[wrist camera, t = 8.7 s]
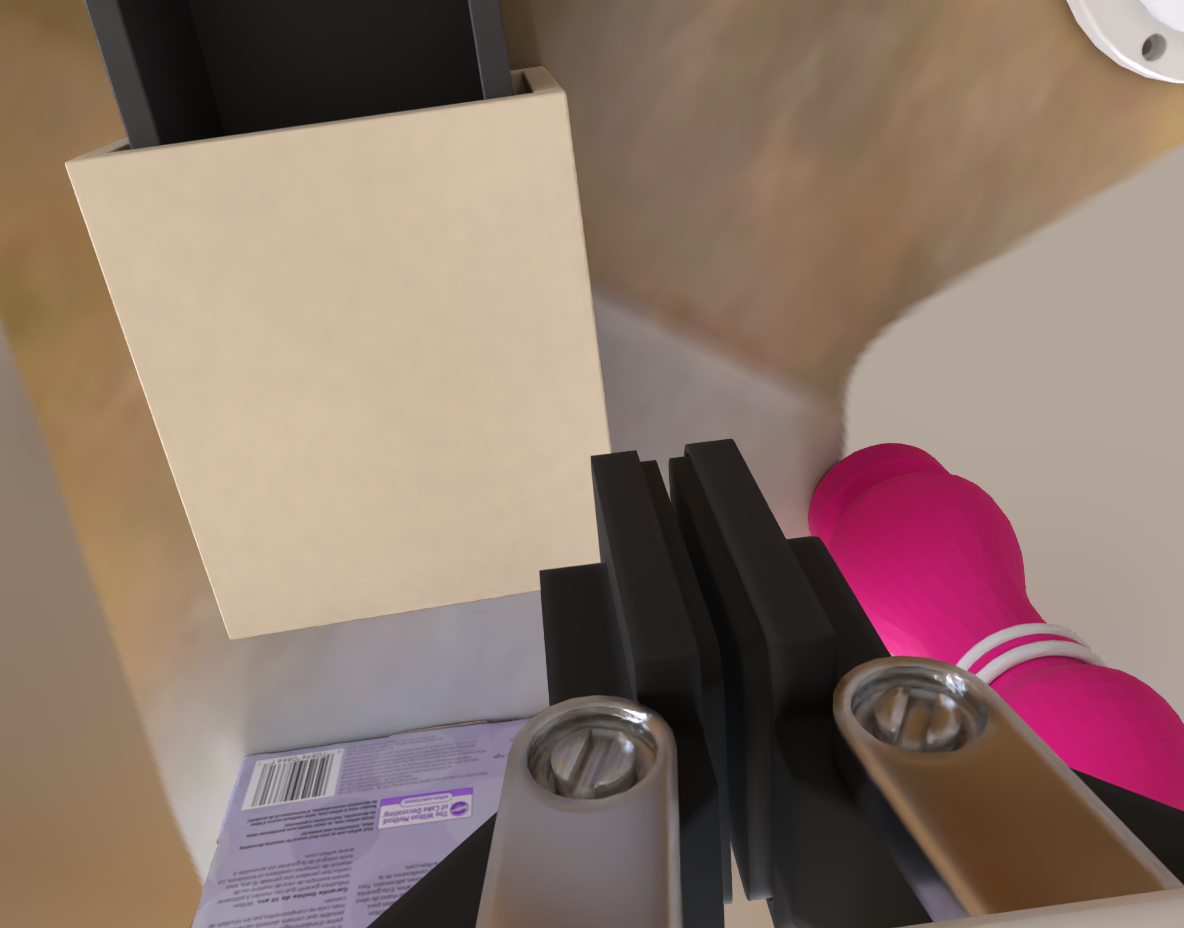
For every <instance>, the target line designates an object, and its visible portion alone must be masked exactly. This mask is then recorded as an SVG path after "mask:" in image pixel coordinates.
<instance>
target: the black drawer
mask: <svg viewBox="0 0 1184 928" xmlns="http://www.w3.org/2000/svg"><path fill="white" fill-rule="evenodd" d="M84 2H85V5H86V8H87V12H88V15H89V18H90V21H91V24H92V27H93V30H94V34H95V37H96V40H97V43H98V46H99V49H100V53H101V56H102V59H103V62H104V65H105V68H106V72H107V75H108V78H109V81H110V84H111V87H112V91H113V94H114V97H115V100H116V103H117V106H118V109H119V113H120V116H121V119H122V122H123V125H124V128H125V132H126V135H127V138H128V141H129V144H130V147H131V150H132V149H139V148H147V147H154V146H161V145H168V144H175V143H182V142H189V141H196V140H203V139H210V138H217V137H224V136H232V135H239V134H246V133H253V132H260V131H267V130H274V129H281V128H288V127H295V126H302V125H309V124H317V123H324V122H331V121H338V120H345V119H352V118H359V117H366V116H373V115H380V114H387V113H394V112H401V111H409V110H416V109H423V108H430V107H437V106H444V105H451V104H458V103H465V102H472V101H479V100H486V99H494V98H501V97H508V96H514V92H513V85H512V79H511V72H510V65H509V58H508V52H507V45H506V38H505V32H504V25H503V18H502V11H501V5H500V0H84Z"/></svg>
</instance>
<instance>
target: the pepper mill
mask: <svg viewBox="0 0 1184 928" xmlns="http://www.w3.org/2000/svg"><path fill="white" fill-rule="evenodd" d="M808 522H809V530H810V534H811V536H817V537H819V538H820V539H821V540H822V541H823V542H824V544H825V546H826V547H827V549H828V551H829V552H830V554H831V556H832V557H833V559H834V561H835V562H836V564H837V566H838V567H839V569H840V571H841V572H842V574H843V576H844V577H845V579H846V581H847V582H848V584H849V586H850V588H851V589H852V591H853V593H854V594H855V596H856V598H857V599H858V601H859V603H860V604H861V606H862V608H863V609H864V611H865V613H866V614H867V616H868V618H869V619H870V621H871V623H872V624H873V626H874V628H875V630H876V631H877V633H878V635H879V636H880V638H881V640H882V641H883V643H884V645H885V646H886V648H887V650H888V651H889V653H891V654H894V655H895V656H915V657H927V658H931V659H935V660H939V661H943V662H947V663H951V664H953V665H956V666H958V667H960V668H962V669H964V670H966V671H968V672H970V673H973V674H975V675H976V676H977V677H978V678H980V679H981V680H982V681H983V682H985V683H986V684H987V685H989V686H990V687H991V688H992V689H993V690H994V691H995V692H996V693H997V694H998V695H999V696H1000V697H1001V698H1002V699H1003V700H1004V701H1005V702H1006V703H1007V704H1008V705H1009V706H1010V707H1011V708H1012V709H1013V710H1014V711H1015V712H1016V713H1017V714H1018V715H1019V716H1020V717H1021V718H1022V719H1023V720H1024V721H1025V722H1026V724H1027V725H1028V726H1029V727H1030V728H1031V729H1032V730H1033V731H1034V732H1035V733H1036V734H1037V735H1038V736H1039V737H1040V738H1041V739H1042V740H1043V741H1044V742H1045V743H1046V744H1047V745H1048V746H1049V747H1050V748H1051V749H1052V750H1053V751H1054V752H1055V753H1056V754H1057V755H1058V756H1059V757H1060V758H1061V760H1062V761H1063V762H1064V763H1065V764H1066V765H1067V766H1068V767H1070V768H1073V769H1075V770H1078V771H1080V772H1083V773H1086V774H1088V775H1091V776H1093V777H1096V778H1099V779H1101V780H1104V781H1106V782H1109V783H1112V784H1114V785H1117V786H1119V787H1122V788H1125V789H1127V790H1130V791H1132V792H1135V793H1138V794H1140V795H1143V796H1145V797H1148V798H1151V799H1153V800H1156V801H1158V802H1161V803H1164V804H1166V805H1169V806H1171V807H1174V808H1177V809H1179V810H1182V811H1184V724H1183V722H1182V721H1181V719H1180V717H1179V716H1178V714H1176V712H1175V711H1174V710H1173V709H1172V707H1171V706H1170V705H1169V704H1168V703H1167V702H1166V700H1165V699H1164V698H1163V697H1161V696H1160V695H1159V694H1158V693H1157V692H1156V691H1154V690H1153V689H1152V688H1151V687H1150V686H1148V685H1147V684H1145V683H1144V682H1142V681H1140V680H1139V679H1137V678H1136V677H1134V676H1132V675H1129V674H1127V673H1125V672H1123V671H1120V670H1116V669H1112V668H1108V667H1107V665H1106V663H1105V662H1104V661H1103V660H1102V659H1101V658H1100V656H1098V655H1097V654H1096V653H1094V652H1093V651H1092V649H1091V648H1090V646H1089V645H1088V643H1087V642H1086V641H1085V640H1084V639H1083V638H1081V637H1080V636H1079V635H1077V634H1076V633H1075V632H1073V631H1071V630H1069V629H1067V628H1064V627H1061V626H1058V625H1053V624H1047V623H1046V622H1045V621H1044V620H1043V619H1042V618H1041V616H1040V615H1039V614H1038V613H1037V611H1036V610H1035V609H1034V607H1033V606H1032V605H1031V603H1030V601H1029V599H1028V597H1027V594H1026V586H1025V575H1024V564H1023V558H1022V553H1021V549H1020V546H1019V543H1018V541H1017V538H1016V535H1015V532H1014V530H1013V528H1012V526H1011V523H1010V521H1009V520H1008V518H1007V517H1006V516H1005V514H1004V513H1003V512H1002V510H1001V509H1000V508H999V506H998V505H997V504H996V503H995V501H994V500H993V499H992V498H991V497H990V495H988V494H987V493H986V492H985V491H984V490H982V489H981V488H980V487H979V486H977V485H976V484H974V483H973V482H970V481H968V480H966V479H964V478H962V477H959V476H957V475H952V474H950V473H949V472H948V471H947V470H946V469H945V468H944V467H943V466H942V465H941V464H940V463H939V462H938V461H937V460H936V459H935V458H934V457H932V456H931V455H930V454H928V453H927V452H925V451H923V450H921V449H919V448H917V447H913V446H910V445H905V444H898V443H895V444H894V443H885V444H879V445H874V446H870V447H867V448H864V449H862V450H859V451H856V452H854V453H852V454H851V455H849V456H848V457H846V458H844V459H843V460H841V461H840V462H839V463H837V464H836V465H834V467H833V468H832V469H831V470H830V471H829V472H828V473H827V474H826V475H825V477H824V478H823V479H822V480H821V482H820V484H819V485H818V487H817V489H816V491H815V493H814V495H813V498H812V500H811V504H810V508H809V517H808Z"/></svg>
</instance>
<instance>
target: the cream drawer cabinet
mask: <svg viewBox="0 0 1184 928" xmlns="http://www.w3.org/2000/svg"><path fill="white" fill-rule="evenodd" d="M510 72H511V79H512V85H513V92H514V96H508V97H501V98H494V99H486V100H479V101H472V102H465V103H458V104H451V105H444V106H437V107H430V108H423V109H416V110H409V111H401V112H394V113H387V114H380V115H373V116H366V117H359V118H352V119H345V120H338V121H331V122H324V123H317V124H309V125H302V126H295V127H288V128H281V129H274V130H267V131H260V132H253V133H246V134H239V135H232V136H224V137H217V138H210V139H203V140H196V141H189V142H182V143H175V144H168V145H161V146H154V147H147V148H139V149H132V150H131V147H130V144H129V141H128V138H127V137H125V138H122V139H120V140H117V141H115V142H112V143H110V144H107V145H105V146H102V147H100V148H98V149H95V150H93V151H90V152H88V153H85V154H83V155H80V156H78V157H76V158H74V159H72V160H69V161H67V162H65V166H66V169H67V172H68V174H69V177H70V180H71V183H72V186H73V189H74V192H75V195H76V198H77V200H78V203H79V206H80V209H81V212H82V215H83V218H84V221H85V223H86V226H87V229H88V232H89V235H90V238H91V241H92V244H93V247H94V249H95V252H96V255H97V258H98V261H99V264H100V267H101V270H102V272H103V275H104V278H105V281H106V284H107V287H108V290H109V293H110V295H111V298H112V301H113V304H114V307H115V310H116V313H117V316H118V319H119V321H120V324H121V327H122V330H123V333H124V336H125V339H126V342H127V344H128V347H129V350H130V353H131V356H132V359H133V362H134V365H135V368H136V370H137V373H138V376H139V379H140V382H141V385H142V388H143V391H144V393H145V396H146V399H147V402H148V405H149V408H150V411H151V414H152V416H153V419H154V422H155V425H156V428H157V431H158V434H159V437H160V440H161V442H162V445H163V448H164V451H165V454H166V457H167V460H168V463H169V465H170V468H171V471H172V474H173V477H174V480H175V483H176V486H177V489H178V491H179V494H180V497H181V500H182V503H183V506H184V509H185V512H186V514H187V517H188V520H189V523H190V526H191V529H192V532H193V535H194V538H195V540H196V543H197V546H198V549H199V552H200V555H201V558H202V561H203V563H204V566H205V569H206V572H207V575H208V578H209V581H210V584H211V586H212V589H213V592H214V595H215V598H216V601H217V604H218V607H219V610H220V612H221V615H222V618H223V621H224V624H225V627H226V630H227V633H228V635H229V638H230V640H235V639H242V638H248V637H254V636H260V635H266V634H273V633H279V632H285V631H291V630H298V629H304V628H310V627H316V626H322V625H329V624H335V623H341V622H347V621H354V620H360V619H366V618H372V617H379V616H385V615H391V614H397V613H403V612H410V611H416V610H422V609H428V608H435V607H441V606H447V605H453V604H459V603H466V602H472V601H478V600H484V599H491V598H497V597H503V596H509V595H515V594H522V593H528V592H534V591H540V590H541V589H540V576H539V570H546V569H554V568H562V567H570V566H578V565H586V564H594V563H601V562H600V552H599V542H598V532H597V522H596V512H595V502H594V492H593V482H592V472H591V456H593V455H601V454H610V453H612V451H611V443H610V435H609V427H608V419H607V411H606V403H605V395H604V387H603V379H602V372H601V364H600V356H599V348H598V340H597V332H596V324H595V316H594V308H593V300H592V293H591V285H590V277H589V269H588V261H587V253H586V245H585V237H584V229H583V221H582V213H581V206H580V198H579V190H578V182H577V174H576V166H575V158H574V150H573V142H572V134H571V126H570V119H569V111H568V103H567V95H566V93H565V91H564V90H563V89H562V88H561V86H560V85H559V84H558V83H557V82H556V81H555V79H554V78H553V77H552V76H551V75H550V73H549V72H548V71H547V70H546V69H545V68H544V67H543V66H540V67H533V68H525V69H518V70H511V71H510Z"/></svg>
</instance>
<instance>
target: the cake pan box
mask: <svg viewBox="0 0 1184 928" xmlns="http://www.w3.org/2000/svg"><path fill="white" fill-rule="evenodd" d="M530 719H531V718H528V719H521V720H514V721H507V722H500V723H489V722H488V721H487V720H482V721H474V722H467V723H460V724H453V725H445V726H438V727H431V728H425V729H417V730H410V731H404V732H398V733H394V734H392V735H391V736H390V737H386V738H378V739H370V740H362V741H356V742H348V743H339V744H333V745H327V746H320V747H313V748H305V749H299V750H292V751H286V752H279V753H271V754H269V753H262V754H255V755H250V756H246V757H244V760H243V762H242V765H241V768H240V771H239V774H238V777H237V780H236V783H235V786H234V789H233V792H232V795H231V798H230V801H229V804H228V807H227V810H226V814H225V817H224V820H223V822H222V825H221V829H220V832H219V835H218V838H217V848H216V851H215V854H214V857H213V860H212V863H211V866H210V869H209V872H208V876H207V879H206V882H205V885H204V889H203V892H202V895H201V899H200V902H199V905H198V909H197V912H196V915H195V918H194V920H193V922H192V924H191V926H190V928H366V927H368V926H369V925H370V924H371V923H372V922H373V921H374V920H375V919H377V918H378V917H379V916H380V915H381V914H382V913H383V912H384V911H386V910H387V909H388V908H389V907H390V906H391V905H392V904H393V903H395V902H396V901H397V900H398V899H399V898H400V897H401V896H402V895H404V894H405V893H406V892H407V891H408V890H409V889H410V888H411V887H413V886H414V885H415V884H416V883H417V882H418V881H419V880H420V879H422V878H423V877H424V876H425V875H426V874H427V873H428V872H429V871H431V870H432V869H433V868H434V867H435V866H436V865H437V864H438V863H440V862H441V861H442V860H443V859H444V858H445V857H446V856H447V855H449V854H450V853H451V852H452V851H453V850H454V849H455V848H456V847H458V846H459V845H460V844H461V843H462V842H463V841H464V840H465V839H467V838H468V837H469V836H470V835H471V834H472V833H473V832H474V831H476V830H477V829H478V828H479V827H480V826H481V825H482V824H483V823H485V822H486V821H487V820H488V819H489V818H490V817H491V816H492V815H494V814H495V813H496V812H497V811H498V806H499V801H500V796H501V791H502V785H503V780H504V775H505V769H506V764H507V759H508V754H509V751H510V748H511V746H512V743H513V741H514V738H515V736H516V734H517V733H518V732H519V731H520V730H521V729H522V727H523V726H524V725H525V724H526V723H527V722H528V721H529V720H530Z"/></svg>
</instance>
